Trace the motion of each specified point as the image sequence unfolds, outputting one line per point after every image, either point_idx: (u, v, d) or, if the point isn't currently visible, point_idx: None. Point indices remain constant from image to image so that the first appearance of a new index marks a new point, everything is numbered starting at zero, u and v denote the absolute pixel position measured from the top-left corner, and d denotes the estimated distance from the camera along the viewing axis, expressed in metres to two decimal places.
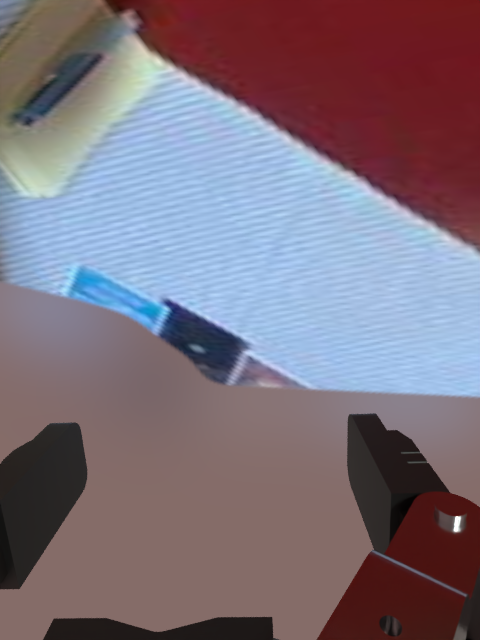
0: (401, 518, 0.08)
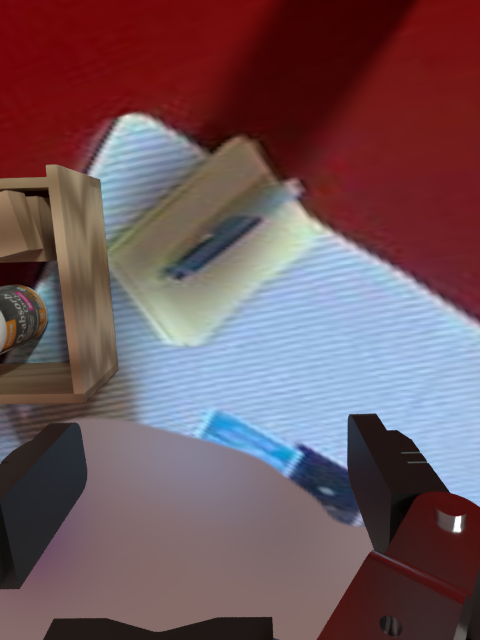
0: (401, 518, 0.08)
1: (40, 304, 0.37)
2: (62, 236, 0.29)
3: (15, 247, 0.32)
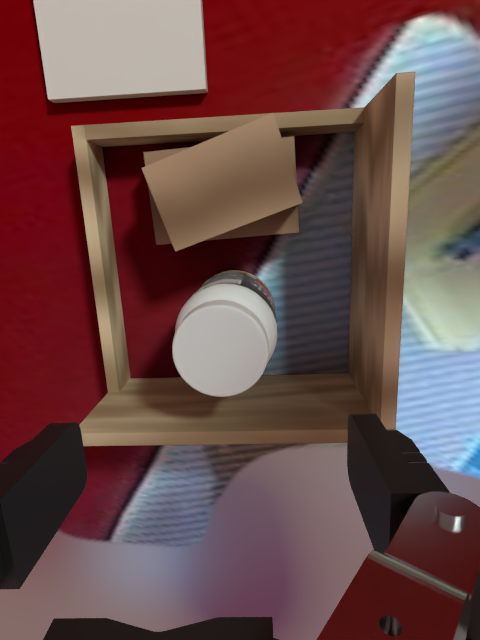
0: (401, 518, 0.08)
1: None
2: (403, 191, 0.18)
3: (283, 200, 0.22)
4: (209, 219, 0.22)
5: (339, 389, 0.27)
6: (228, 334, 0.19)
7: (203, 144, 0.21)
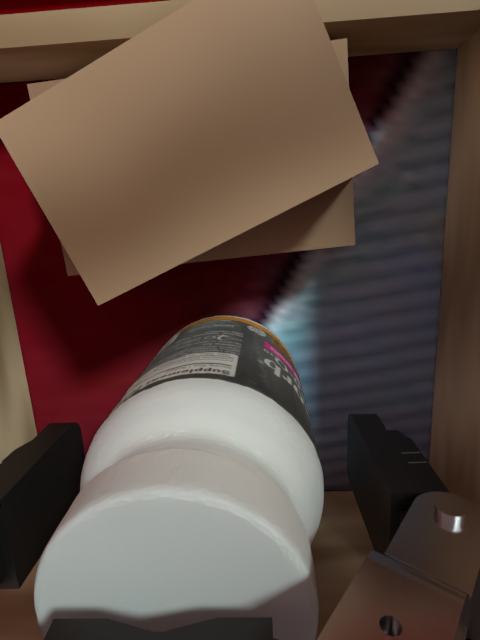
0: (401, 518, 0.08)
1: (295, 366, 0.14)
2: None
3: (332, 163, 0.09)
4: (163, 227, 0.10)
5: None
6: (199, 572, 0.06)
7: (127, 47, 0.09)
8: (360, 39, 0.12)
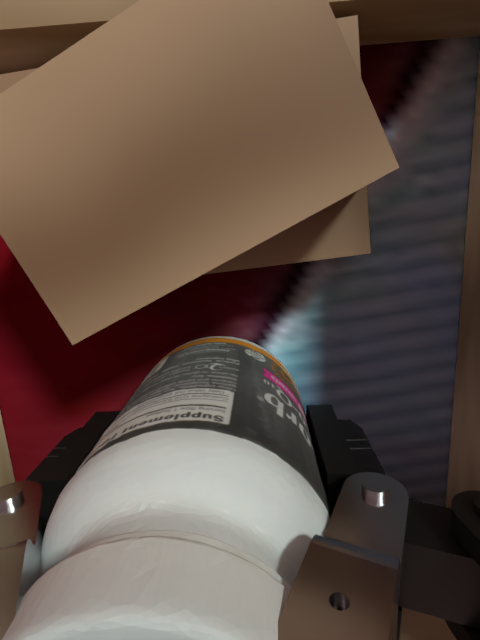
0: (338, 497, 0.08)
1: None
2: None
3: (343, 169, 0.08)
4: (146, 251, 0.08)
5: None
6: None
7: (93, 39, 0.07)
8: (372, 24, 0.10)
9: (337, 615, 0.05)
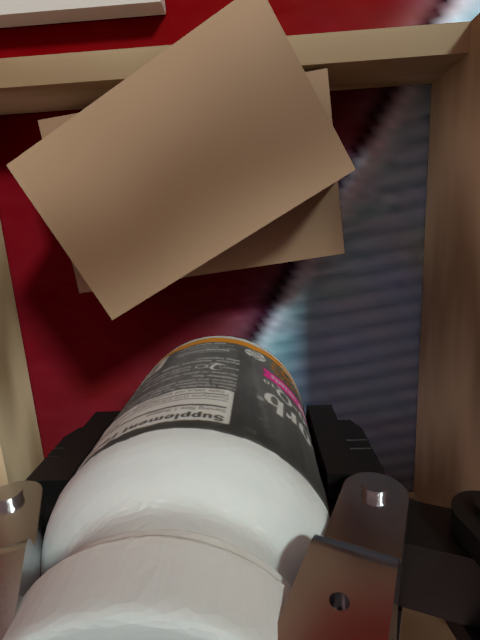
0: None
1: None
2: None
3: (313, 173, 0.10)
4: (166, 244, 0.11)
5: None
6: None
7: (121, 87, 0.10)
8: (342, 77, 0.13)
9: (337, 615, 0.05)
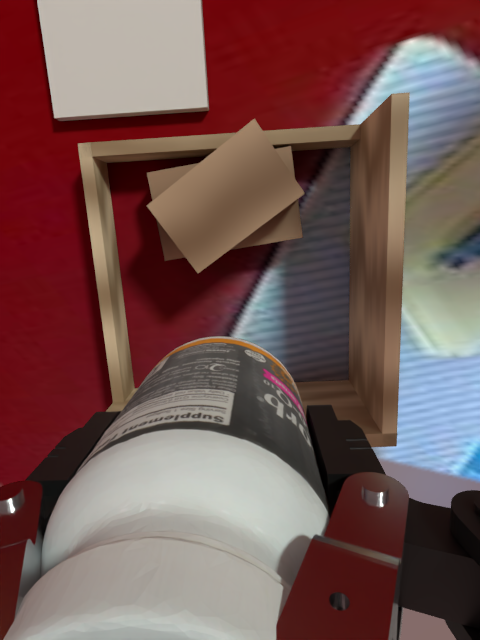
0: (338, 497, 0.08)
1: None
2: (400, 204, 0.19)
3: (285, 196, 0.22)
4: (221, 235, 0.23)
5: (340, 395, 0.27)
6: None
7: (197, 167, 0.22)
8: (300, 146, 0.25)
9: (337, 615, 0.05)
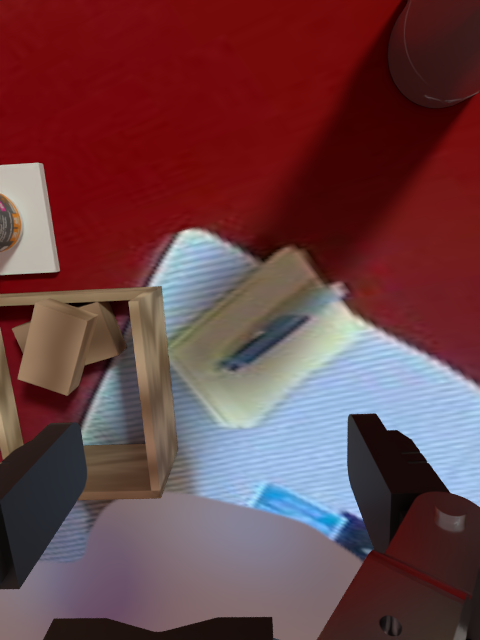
0: (401, 518, 0.08)
1: (14, 209, 0.36)
2: (142, 360, 0.33)
3: (79, 329, 0.35)
4: (63, 368, 0.36)
5: None
6: None
7: (26, 344, 0.36)
8: None
9: None
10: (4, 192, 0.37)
